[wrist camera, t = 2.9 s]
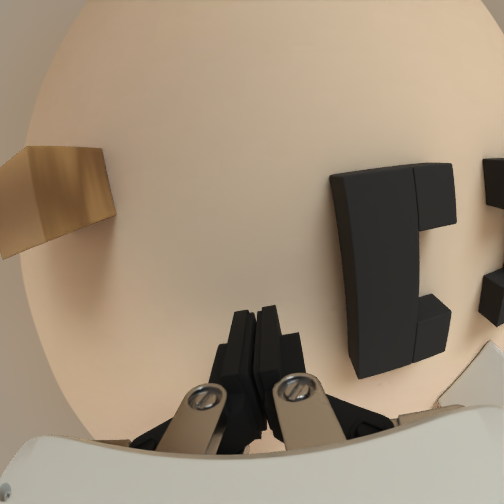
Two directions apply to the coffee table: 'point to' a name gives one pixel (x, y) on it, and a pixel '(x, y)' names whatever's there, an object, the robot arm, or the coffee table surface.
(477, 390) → the medicine bottle
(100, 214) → the key
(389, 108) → the coffee table surface
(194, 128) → the coffee table surface
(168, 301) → the coffee table surface
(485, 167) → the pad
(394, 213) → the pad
